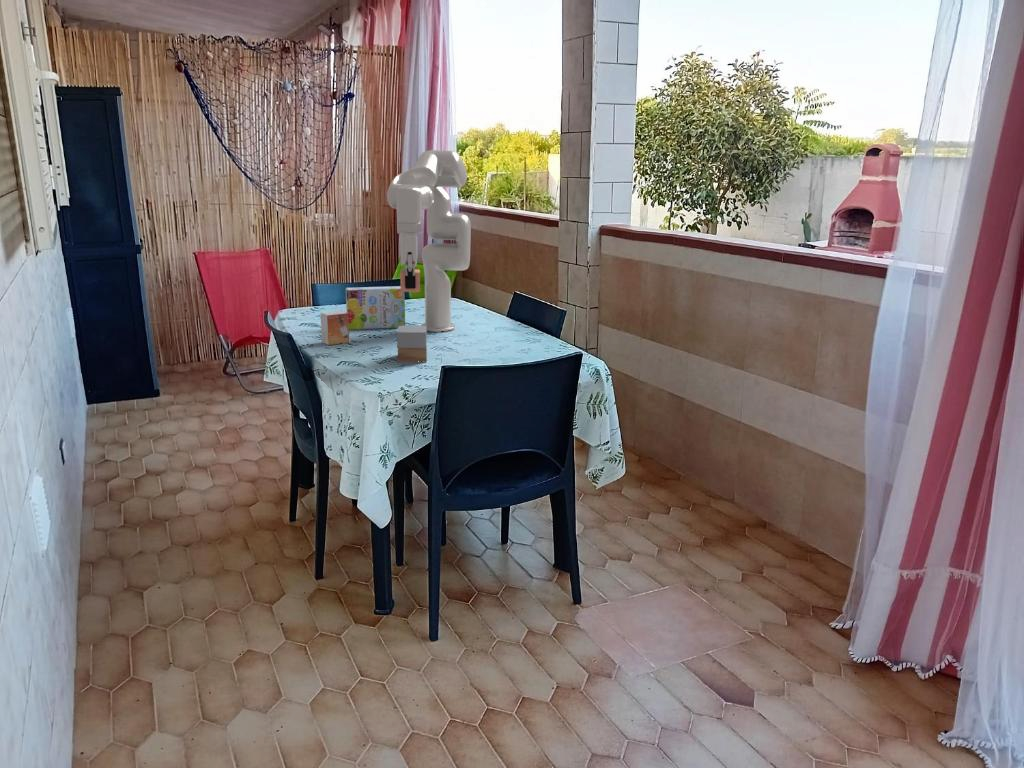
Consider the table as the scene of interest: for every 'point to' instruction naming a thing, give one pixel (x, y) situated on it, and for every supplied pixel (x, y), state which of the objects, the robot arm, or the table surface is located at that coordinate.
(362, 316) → the snack box
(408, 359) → the tower bottom block
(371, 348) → the table surface
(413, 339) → the tower top block
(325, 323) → the small box
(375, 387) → the table surface
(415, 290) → the terracotta cube
